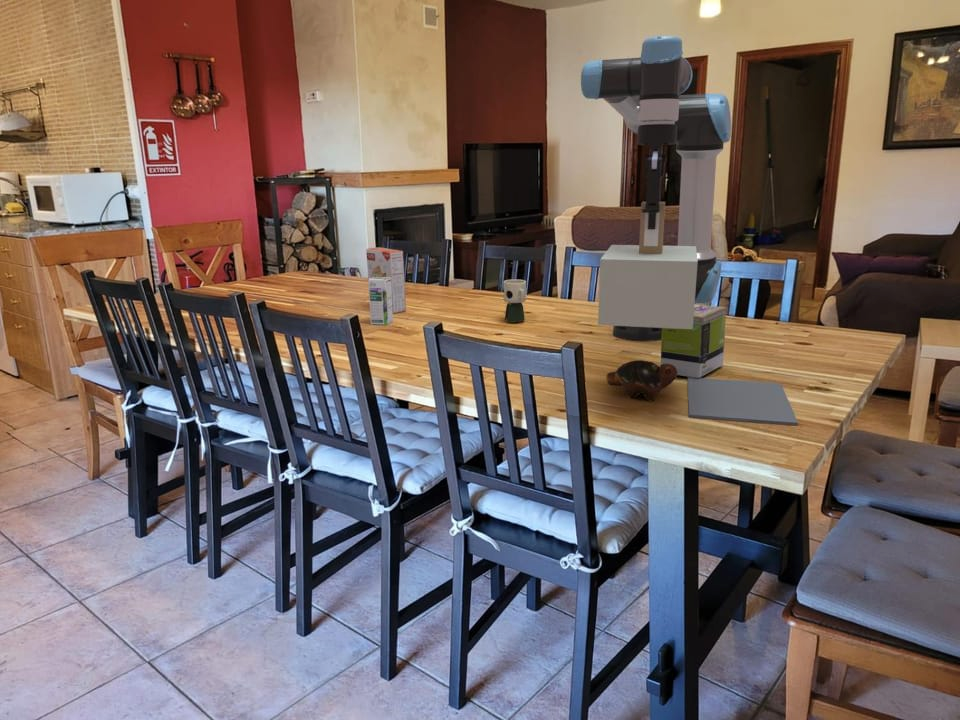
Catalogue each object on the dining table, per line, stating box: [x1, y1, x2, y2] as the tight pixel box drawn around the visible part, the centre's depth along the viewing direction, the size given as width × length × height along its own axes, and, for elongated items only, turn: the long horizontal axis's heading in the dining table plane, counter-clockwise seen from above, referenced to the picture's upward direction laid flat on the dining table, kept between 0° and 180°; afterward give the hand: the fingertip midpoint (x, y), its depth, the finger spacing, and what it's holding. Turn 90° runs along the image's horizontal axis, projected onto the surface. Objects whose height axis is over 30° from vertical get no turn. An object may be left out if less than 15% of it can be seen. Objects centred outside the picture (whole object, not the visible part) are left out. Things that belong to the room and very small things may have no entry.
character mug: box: [502, 279, 527, 324], centre depth 219 cm, size 11×7×13 cm, turn 26°
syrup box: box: [367, 277, 394, 326], centre depth 220 cm, size 6×6×14 cm
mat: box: [687, 377, 799, 427], centre depth 147 cm, size 25×20×1 cm
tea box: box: [659, 304, 727, 378], centre depth 166 cm, size 15×10×15 cm, turn 141°
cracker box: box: [365, 246, 407, 315], centre depth 238 cm, size 14×6×21 cm, turn 42°
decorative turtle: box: [606, 359, 678, 402], centre depth 151 cm, size 10×15×8 cm, turn 69°
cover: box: [597, 201, 698, 329], centre depth 143 cm, size 23×18×23 cm
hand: (651, 244), depth 143 cm, fingers closed on cover, 4 cm apart
